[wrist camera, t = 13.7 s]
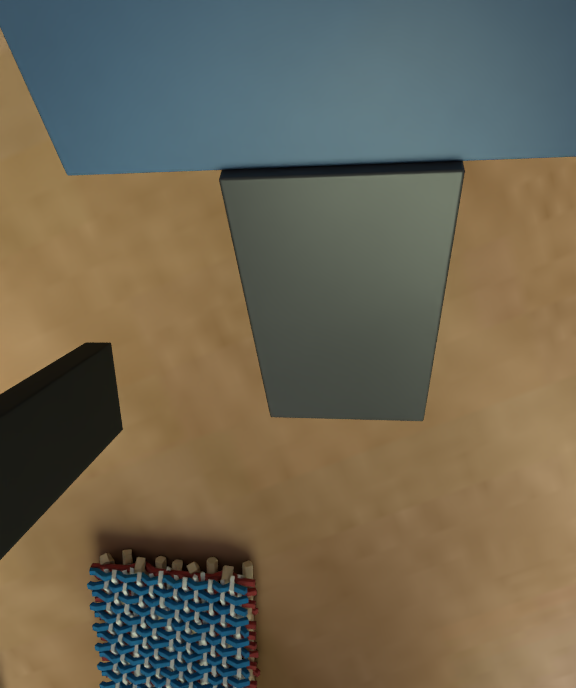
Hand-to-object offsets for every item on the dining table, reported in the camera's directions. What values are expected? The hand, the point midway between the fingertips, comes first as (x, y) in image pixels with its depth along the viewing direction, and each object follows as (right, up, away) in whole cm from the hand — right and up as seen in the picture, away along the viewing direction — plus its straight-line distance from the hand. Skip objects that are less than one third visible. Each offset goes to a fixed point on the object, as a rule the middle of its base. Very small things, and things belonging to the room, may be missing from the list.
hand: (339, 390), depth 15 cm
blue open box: (0, +13, -4) cm, 13 cm away
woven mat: (-8, -17, +21) cm, 28 cm away
